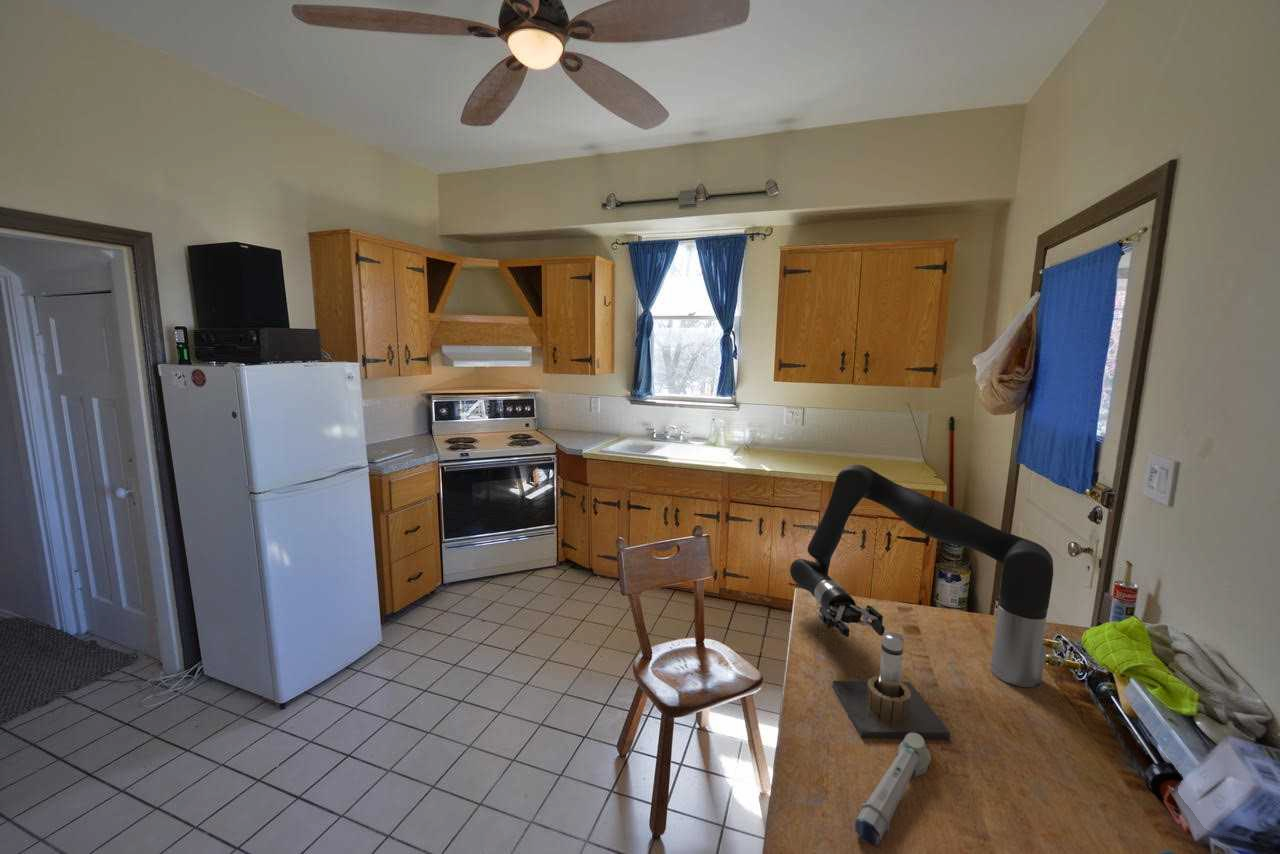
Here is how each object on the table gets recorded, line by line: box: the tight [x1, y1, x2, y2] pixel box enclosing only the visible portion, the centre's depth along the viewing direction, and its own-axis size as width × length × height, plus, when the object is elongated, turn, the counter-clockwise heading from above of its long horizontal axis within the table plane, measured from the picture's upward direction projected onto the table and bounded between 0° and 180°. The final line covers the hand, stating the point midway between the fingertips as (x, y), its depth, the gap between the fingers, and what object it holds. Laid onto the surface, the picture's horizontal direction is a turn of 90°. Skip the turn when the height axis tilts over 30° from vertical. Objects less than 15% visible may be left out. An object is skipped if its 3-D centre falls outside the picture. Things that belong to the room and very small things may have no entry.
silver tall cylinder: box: [878, 631, 905, 698], centre depth 110 cm, size 4×4×16 cm
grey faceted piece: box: [854, 733, 932, 846], centre depth 90 cm, size 5×7×25 cm
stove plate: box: [831, 675, 951, 740], centre depth 111 cm, size 18×16×6 cm
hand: (865, 632), depth 121 cm, fingers open, 8 cm apart
